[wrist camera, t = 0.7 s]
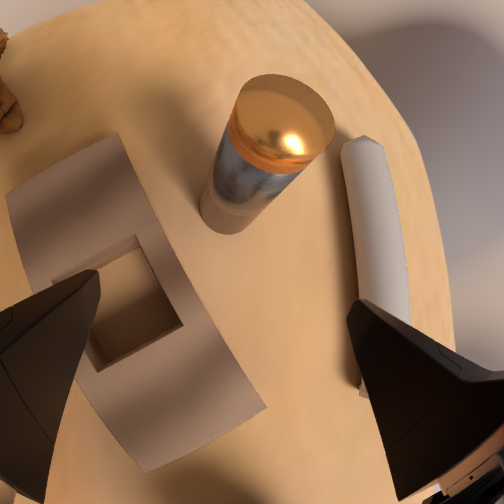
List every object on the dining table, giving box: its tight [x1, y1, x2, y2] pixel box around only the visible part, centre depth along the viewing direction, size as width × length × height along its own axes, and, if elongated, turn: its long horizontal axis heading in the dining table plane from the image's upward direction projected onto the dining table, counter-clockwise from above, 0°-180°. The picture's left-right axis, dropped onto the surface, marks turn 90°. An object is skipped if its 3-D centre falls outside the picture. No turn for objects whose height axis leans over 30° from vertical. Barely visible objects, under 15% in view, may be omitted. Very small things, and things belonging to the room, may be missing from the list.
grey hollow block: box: [5, 133, 267, 473], centre depth 18 cm, size 22×10×4 cm, turn 31°
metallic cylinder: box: [199, 74, 335, 234], centre depth 18 cm, size 5×5×13 cm
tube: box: [340, 135, 411, 399], centre depth 25 cm, size 5×5×25 cm
